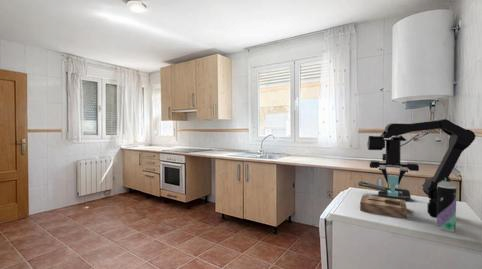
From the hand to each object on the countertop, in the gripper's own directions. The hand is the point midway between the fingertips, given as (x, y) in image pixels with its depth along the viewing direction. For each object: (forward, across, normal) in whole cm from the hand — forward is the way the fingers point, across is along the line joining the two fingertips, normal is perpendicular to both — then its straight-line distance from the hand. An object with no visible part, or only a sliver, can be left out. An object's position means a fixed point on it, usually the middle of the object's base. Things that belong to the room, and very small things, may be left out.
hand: (392, 183), depth 108 cm
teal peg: (+5, 0, 0) cm, 5 cm away
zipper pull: (+13, +4, -23) cm, 27 cm away
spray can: (+13, -17, +12) cm, 24 cm away
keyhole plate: (+13, +4, 0) cm, 13 cm away
